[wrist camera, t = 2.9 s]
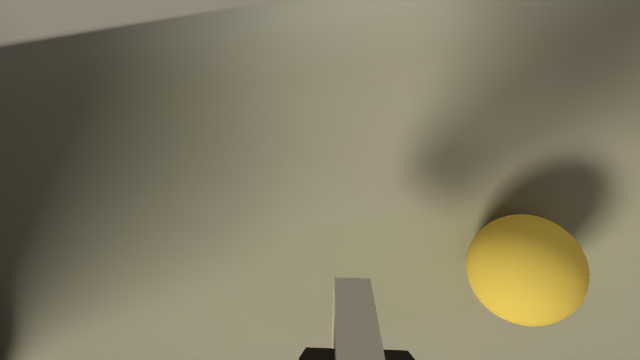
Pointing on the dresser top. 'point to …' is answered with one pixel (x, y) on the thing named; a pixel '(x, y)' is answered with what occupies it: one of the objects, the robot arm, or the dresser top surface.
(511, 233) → the ball
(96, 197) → the dresser top surface
